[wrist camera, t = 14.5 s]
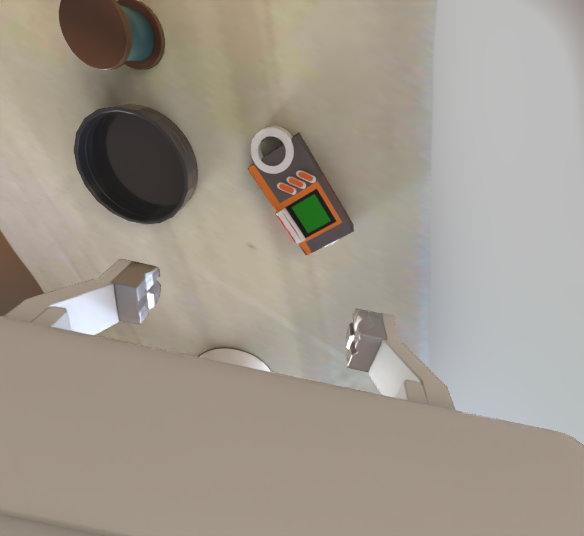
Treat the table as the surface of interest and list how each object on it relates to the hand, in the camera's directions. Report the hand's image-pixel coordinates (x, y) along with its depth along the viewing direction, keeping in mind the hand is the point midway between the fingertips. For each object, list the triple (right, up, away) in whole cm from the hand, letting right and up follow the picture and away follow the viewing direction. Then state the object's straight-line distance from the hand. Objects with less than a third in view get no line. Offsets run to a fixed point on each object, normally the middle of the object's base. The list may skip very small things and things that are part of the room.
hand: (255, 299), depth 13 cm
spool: (-14, +24, +19) cm, 34 cm away
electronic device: (+2, +11, +25) cm, 28 cm away
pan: (-16, +14, +26) cm, 33 cm away
